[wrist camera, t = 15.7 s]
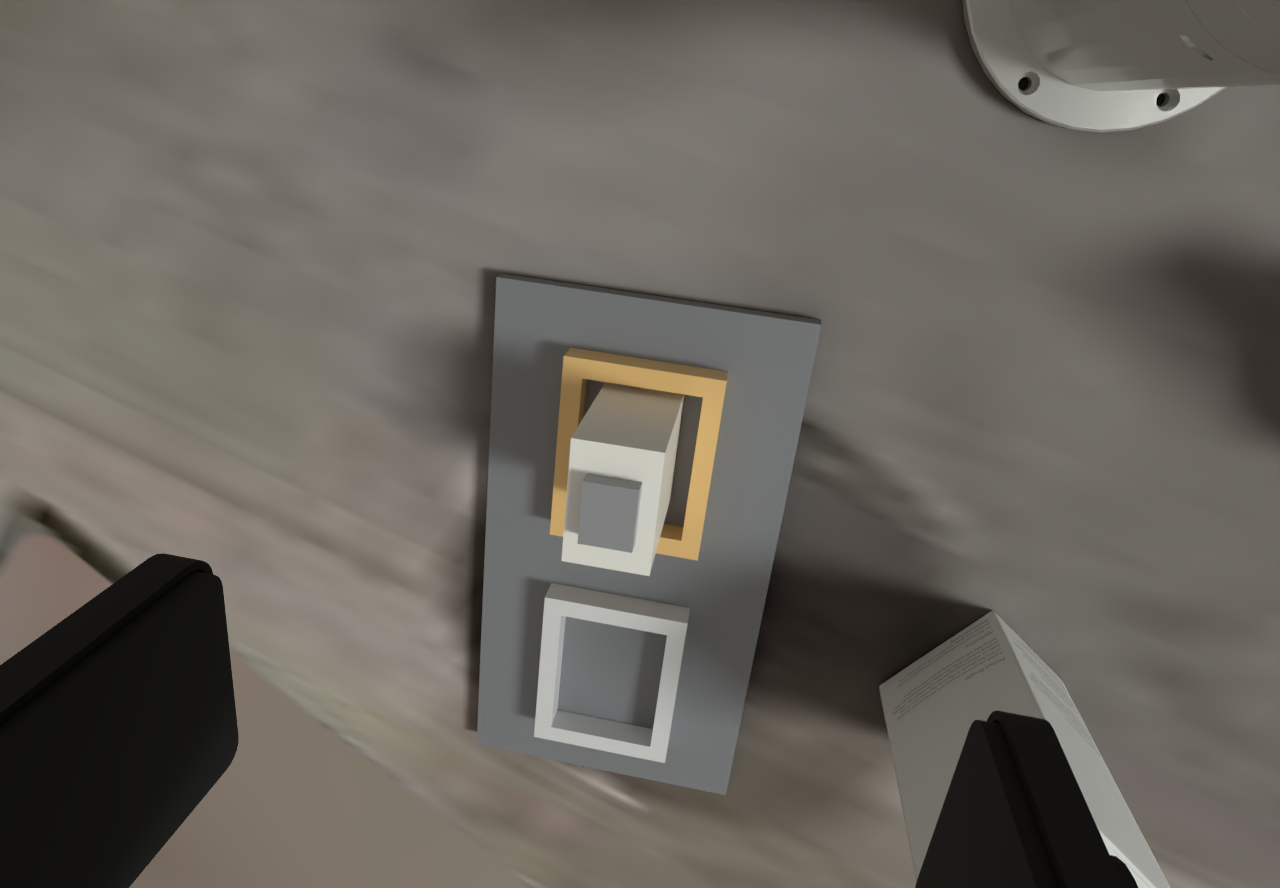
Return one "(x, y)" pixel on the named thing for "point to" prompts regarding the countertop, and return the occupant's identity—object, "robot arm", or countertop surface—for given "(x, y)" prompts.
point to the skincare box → (971, 690)
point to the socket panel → (689, 542)
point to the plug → (621, 478)
